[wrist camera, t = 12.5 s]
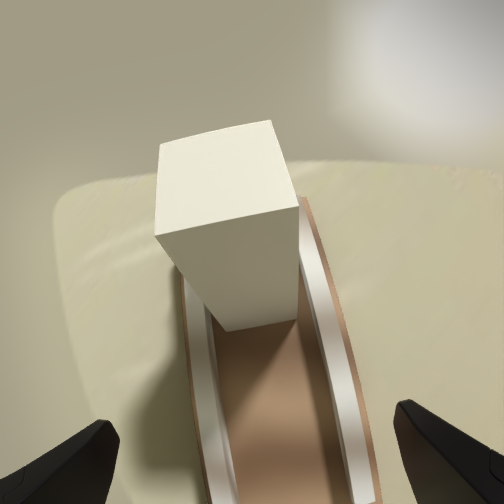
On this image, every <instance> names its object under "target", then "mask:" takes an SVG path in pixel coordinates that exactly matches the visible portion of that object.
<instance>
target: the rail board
mask: <svg viewBox="0 0 504 504" xmlns="http://www.w3.org/2000/svg"><path fill="white" fill-rule="evenodd" d="M296 197H297V201H298V204H299V278H298V313H297V319H294V320H289V321H284V322H279V323H274V324H268V325H263V326H258V327H252V328H247V329H241V330H235V331H229V332H226V331H225V330H224V328H223V327H222V326H221V325H220V323H219V322H218V321H217V320H216V318H215V317H214V316H213V314H212V313H211V312H210V311H209V309H208V308H207V307H206V305H205V304H204V303H203V301H202V300H201V299H200V298H199V296H198V295H197V294H196V292H195V291H194V290H193V288H192V287H191V286H190V284H189V283H188V282H187V280H186V279H185V277H184V276H183V275H182V273H181V272H180V280H181V296H182V310H183V323H184V335H185V346H186V356H187V366H188V375H189V384H190V392H191V400H192V408H193V415H194V422H195V429H196V436H197V442H198V448H199V454H200V460H201V466H202V472H203V477H204V483H205V488H206V493H207V498H208V503H209V504H383V502H382V495H381V489H380V482H379V476H378V470H377V464H376V458H375V452H374V447H373V442H372V436H371V431H370V426H369V421H368V416H367V412H366V407H365V402H364V398H363V393H362V389H361V384H360V380H359V376H358V372H357V368H356V363H355V359H354V355H353V351H352V347H351V343H350V340H349V336H348V332H347V328H346V324H345V321H344V317H343V313H342V310H341V306H340V303H339V299H338V296H337V292H336V289H335V285H334V282H333V278H332V275H331V272H330V268H329V265H328V262H327V259H326V255H325V252H324V249H323V246H322V243H321V239H320V236H319V233H318V230H317V227H316V224H315V221H314V218H313V215H312V212H311V209H310V206H309V203H308V200H307V198H306V197H303V198H301V196H300V195H296Z"/></svg>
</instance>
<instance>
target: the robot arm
mask: <svg viewBox="0 0 504 504" xmlns="http://www.w3.org/2000/svg"><path fill="white" fill-rule="evenodd" d="M393 424H394V429H395V433H396V437H397V441H398V445H399V449H400V453H401V457H402V461H403V465H404V468H405V471H406V474H407V476H408V479H409V482H410V484H411V487H412V490H413V492H414V495H415V498H416V501H417V503H418V504H504V456H503V455H501V454H499V453H498V452H496V451H494V450H493V449H491V450H490V448H489V447H487V446H486V445H484V444H482V443H481V442H479V441H477V440H476V439H474V438H472V437H471V436H469V435H467V434H466V433H464V432H462V431H461V430H459V429H458V428H456V427H454V426H453V425H451V424H449V423H448V422H446V421H445V420H443V419H441V418H440V417H438V416H437V415H435V414H433V413H432V412H430V411H429V410H427V409H425V408H424V407H422V406H421V405H419V404H418V403H416V402H414V401H413V400H411V399H407V400H403V401H400V402H398V403H397V405H396V410H395V415H394V420H393ZM119 444H120V438H119V436H118V434H117V432H116V430H115V429H114V427H113V425H112V423H111V422H110V421H108V420H102V419H99V420H96V421H95V422H94V423H92V424H90V425H89V426H87V427H86V428H85V429H83V430H81V431H80V432H78V433H77V434H75V435H74V436H72V437H71V438H69V439H68V440H66V441H64V442H63V443H61V444H60V445H58V446H57V447H55V448H54V449H52V450H50V451H49V452H47V453H45V454H44V455H42V456H41V457H39V458H37V459H36V460H34V461H32V462H31V463H29V464H28V465H26V466H24V467H22V468H21V469H19V470H17V471H16V472H14V473H12V474H10V475H8V476H6V477H4V478H2V479H0V504H105V502H106V499H107V495H108V492H109V489H110V485H111V482H112V479H113V474H114V470H115V464H116V459H117V454H118V449H119Z"/></svg>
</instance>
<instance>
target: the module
mask: <svg viewBox="0 0 504 504" xmlns="http://www.w3.org/2000/svg"><path fill="white" fill-rule="evenodd" d="M155 237H156V239H157V240H158V241H159V243H160V244H161V246H162V247H163V248H164V250H165V251H166V253H167V254H168V255H169V257H170V258H171V260H172V261H173V262H174V264H175V265H176V267H177V268H178V269H179V271H180V272H181V273H182V275H183V276H184V277H185V279H186V280H187V282H188V283H189V284H190V286H191V287H192V288H193V290H194V291H195V292H196V294H197V295H198V296H199V298H200V299H201V300H202V301H203V303H204V304H205V305H206V307H207V308H208V309H209V311H210V312H211V313H212V314H213V316H214V317H215V318H216V320H217V321H218V322H219V323H220V325H221V326H222V327H223V328H224V330H225V331H226V332H229V331H235V330H241V329H247V328H252V327H258V326H263V325H268V324H274V323H279V322H284V321H289V320H294V319H297V313H298V278H299V204H298V201H297V197H296V194H295V191H294V188H293V185H292V182H291V179H290V176H289V172H288V169H287V166H286V163H285V160H284V158H283V154H282V152H281V149H280V146H279V143H278V140H277V137H276V134H275V131H274V128H273V126H272V123H271V120H266V121H260V122H255V123H249V124H244V125H239V126H234V127H229V128H224V129H220V130H215V131H211V132H206V133H202V134H198V135H194V136H190V137H186V138H182V139H178V140H174V141H170V142H167V143H163V144H160V151H159V164H158V176H157V191H156V210H155Z"/></svg>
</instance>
